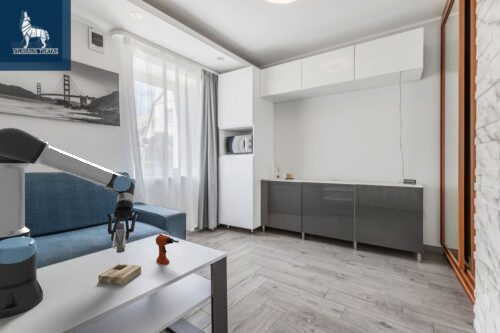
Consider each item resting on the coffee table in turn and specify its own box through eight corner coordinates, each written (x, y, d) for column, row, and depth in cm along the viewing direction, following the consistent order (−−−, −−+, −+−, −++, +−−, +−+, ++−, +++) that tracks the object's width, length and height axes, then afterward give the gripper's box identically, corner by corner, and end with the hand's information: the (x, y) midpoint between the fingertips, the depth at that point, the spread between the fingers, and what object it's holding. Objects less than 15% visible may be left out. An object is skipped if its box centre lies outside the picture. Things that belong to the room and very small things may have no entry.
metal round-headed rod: (114, 252, 109) (114, 223, 108) (120, 249, 112) (119, 221, 112) (121, 253, 108) (120, 223, 108) (126, 250, 111) (125, 221, 111)
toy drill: (176, 268, 112) (173, 236, 113) (154, 263, 123) (152, 234, 124) (184, 265, 116) (182, 234, 117) (162, 260, 127) (160, 232, 128)
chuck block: (98, 282, 102) (98, 275, 102) (118, 269, 114) (118, 263, 114) (123, 284, 100) (122, 277, 100) (141, 272, 112) (141, 265, 112)
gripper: (142, 206, 127) (139, 248, 112) (107, 208, 122) (99, 252, 106) (141, 198, 122) (138, 240, 106) (105, 200, 116) (95, 244, 101)
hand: (118, 246), depth 106 cm, fingers closed on metal round-headed rod, 3 cm apart
